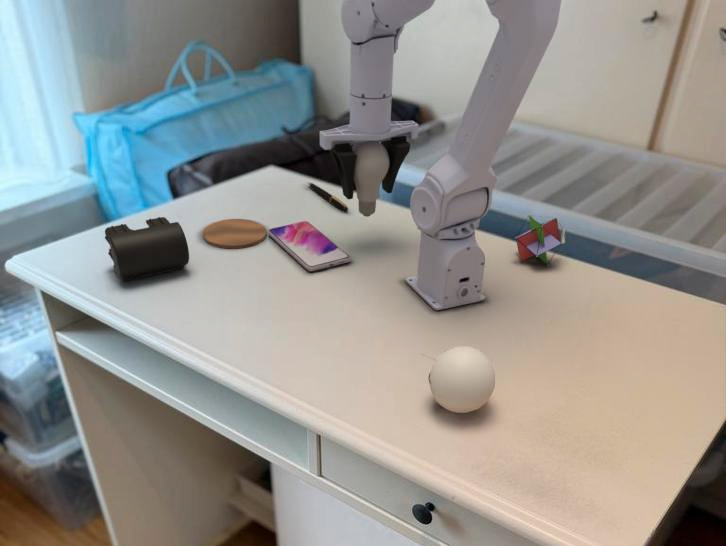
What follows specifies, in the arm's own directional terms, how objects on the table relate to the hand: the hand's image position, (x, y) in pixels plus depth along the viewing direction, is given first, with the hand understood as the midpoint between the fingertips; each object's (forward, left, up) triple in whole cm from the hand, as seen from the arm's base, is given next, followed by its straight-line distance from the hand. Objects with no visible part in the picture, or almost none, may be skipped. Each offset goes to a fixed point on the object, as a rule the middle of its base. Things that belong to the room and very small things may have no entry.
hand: (367, 193), depth 107 cm
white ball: (-41, +8, -8) cm, 43 cm away
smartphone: (+2, +9, -8) cm, 12 cm away
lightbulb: (0, 0, -4) cm, 4 cm away
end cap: (+3, +33, -8) cm, 34 cm away
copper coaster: (+11, +18, -8) cm, 23 cm away
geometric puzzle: (-14, -22, -8) cm, 27 cm away
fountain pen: (+19, -1, -8) cm, 21 cm away
